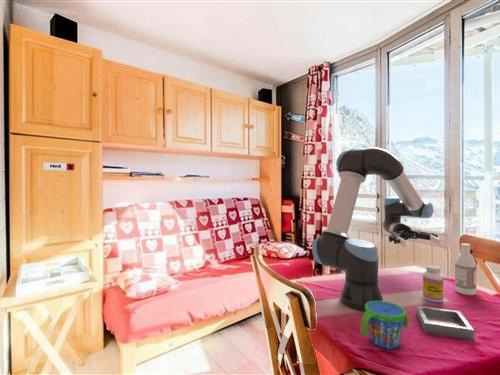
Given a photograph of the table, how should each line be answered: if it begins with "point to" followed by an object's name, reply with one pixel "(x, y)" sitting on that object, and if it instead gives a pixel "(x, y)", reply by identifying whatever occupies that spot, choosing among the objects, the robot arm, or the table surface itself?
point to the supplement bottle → (433, 284)
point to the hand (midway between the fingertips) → (421, 242)
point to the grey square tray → (444, 322)
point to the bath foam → (465, 272)
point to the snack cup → (384, 323)
